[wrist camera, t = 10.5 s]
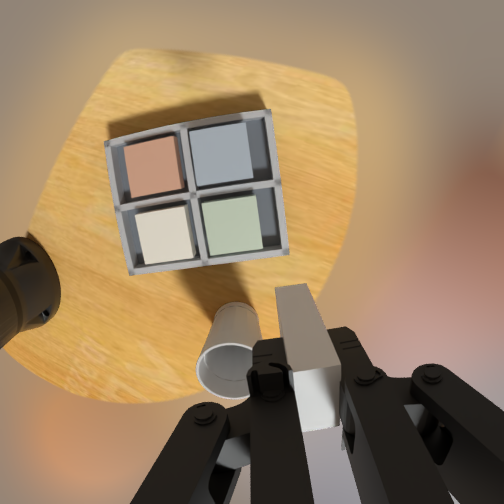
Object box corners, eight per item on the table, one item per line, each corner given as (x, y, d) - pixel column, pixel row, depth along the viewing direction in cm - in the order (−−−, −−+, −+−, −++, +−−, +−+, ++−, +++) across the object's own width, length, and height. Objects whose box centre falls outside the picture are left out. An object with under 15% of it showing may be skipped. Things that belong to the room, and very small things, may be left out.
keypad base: (139, 265, 42) (129, 275, 38) (116, 142, 38) (103, 141, 34) (286, 246, 42) (289, 254, 38) (268, 114, 37) (270, 108, 33)
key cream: (150, 259, 39) (145, 264, 37) (140, 212, 37) (134, 215, 35) (196, 253, 38) (193, 257, 36) (187, 204, 37) (184, 206, 35)
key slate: (200, 185, 35) (197, 186, 33) (192, 133, 34) (189, 131, 32) (253, 177, 35) (253, 177, 33) (245, 124, 33) (245, 122, 32)
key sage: (212, 250, 38) (210, 255, 36) (204, 201, 37) (201, 203, 35) (262, 244, 38) (263, 248, 36) (255, 194, 37) (255, 195, 35)
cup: (196, 321, 45) (181, 371, 33) (235, 284, 43) (230, 328, 31) (237, 354, 46) (233, 409, 35) (276, 322, 45) (284, 372, 33)
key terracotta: (137, 196, 36) (131, 197, 35) (129, 147, 35) (123, 147, 33) (184, 187, 36) (181, 188, 34) (177, 137, 35) (173, 135, 33)
